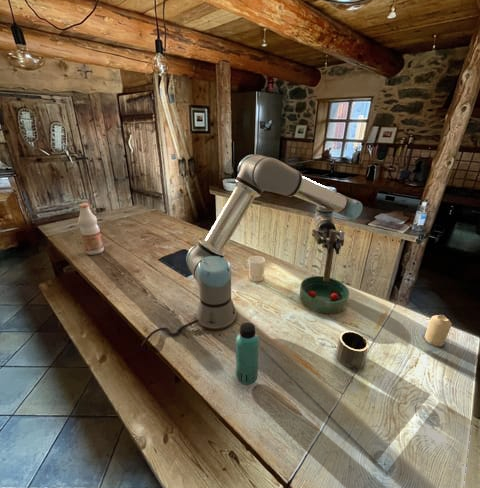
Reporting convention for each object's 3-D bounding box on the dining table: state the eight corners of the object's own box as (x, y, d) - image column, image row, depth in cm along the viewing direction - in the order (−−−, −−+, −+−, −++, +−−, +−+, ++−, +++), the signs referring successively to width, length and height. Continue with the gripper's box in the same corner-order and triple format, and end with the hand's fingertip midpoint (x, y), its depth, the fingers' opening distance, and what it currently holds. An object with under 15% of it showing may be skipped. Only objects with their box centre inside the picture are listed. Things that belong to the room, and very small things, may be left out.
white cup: (263, 283, 124) (264, 264, 120) (246, 281, 125) (247, 262, 121) (265, 274, 131) (266, 256, 127) (249, 272, 133) (249, 255, 128)
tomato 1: (312, 300, 111) (313, 294, 110) (306, 297, 113) (307, 291, 112) (316, 298, 112) (317, 292, 111) (311, 294, 115) (312, 288, 113)
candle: (425, 332, 95) (433, 310, 91) (444, 339, 92) (453, 316, 88) (423, 341, 91) (431, 318, 87) (442, 349, 88) (452, 325, 84)
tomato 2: (334, 302, 109) (335, 296, 108) (328, 299, 112) (329, 293, 110) (339, 300, 111) (340, 294, 110) (333, 296, 113) (334, 290, 112)
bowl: (326, 322, 100) (329, 309, 98) (289, 296, 114) (291, 285, 112) (356, 303, 110) (359, 291, 108) (319, 282, 125) (320, 271, 122)
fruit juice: (82, 253, 151) (69, 205, 140) (96, 246, 159) (85, 201, 148) (94, 256, 148) (82, 207, 137) (107, 249, 156) (97, 203, 144)
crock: (353, 375, 79) (358, 355, 76) (330, 357, 85) (334, 338, 82) (368, 362, 83) (374, 342, 80) (346, 345, 89) (350, 327, 86)
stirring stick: (326, 283, 107) (334, 232, 98) (321, 280, 108) (329, 230, 99) (330, 281, 108) (338, 231, 99) (325, 278, 110) (333, 229, 101)
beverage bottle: (256, 369, 81) (258, 317, 72) (259, 390, 74) (261, 335, 66) (235, 370, 80) (235, 318, 72) (235, 390, 74) (235, 336, 66)
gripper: (342, 236, 118) (354, 261, 97) (307, 234, 120) (310, 258, 99) (345, 220, 115) (358, 242, 94) (308, 218, 117) (313, 239, 96)
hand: (333, 250), depth 96 cm, fingers closed on stirring stick, 2 cm apart
